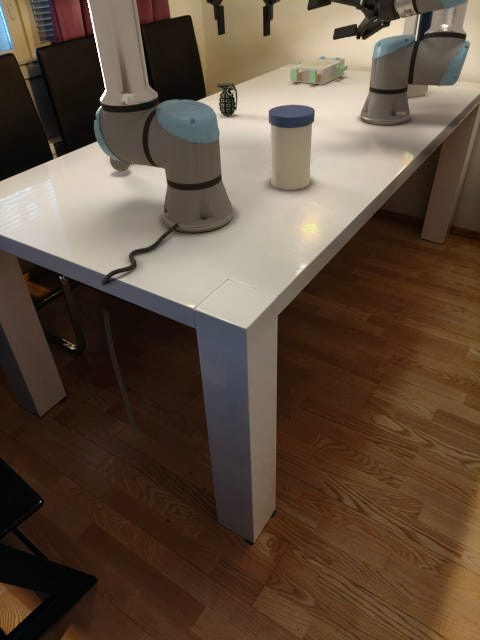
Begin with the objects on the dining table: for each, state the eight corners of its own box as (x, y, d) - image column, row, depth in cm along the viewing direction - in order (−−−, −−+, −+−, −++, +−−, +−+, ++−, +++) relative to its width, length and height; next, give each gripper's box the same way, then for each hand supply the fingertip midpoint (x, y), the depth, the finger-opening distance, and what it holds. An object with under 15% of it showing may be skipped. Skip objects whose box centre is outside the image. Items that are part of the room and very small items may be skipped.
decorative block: (312, 54, 215) (354, 57, 206) (311, 70, 219) (352, 74, 210) (281, 65, 199) (325, 69, 190) (281, 83, 203) (324, 87, 194)
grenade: (217, 117, 168) (214, 86, 162) (221, 112, 172) (219, 82, 166) (235, 117, 166) (233, 86, 160) (239, 113, 171) (238, 82, 165)
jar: (264, 186, 119) (263, 116, 109) (282, 172, 126) (282, 105, 116) (299, 192, 115) (301, 120, 105) (315, 178, 122) (319, 109, 112)
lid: (260, 124, 110) (260, 114, 109) (281, 112, 117) (281, 103, 116) (302, 129, 106) (302, 119, 104) (321, 117, 113) (322, 107, 111)
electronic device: (396, 99, 175) (410, -1, 157) (386, 94, 181) (398, -2, 163) (427, 95, 178) (444, -4, 159) (416, 90, 183) (431, -5, 165)
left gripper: (294, -71, 114) (292, 33, 127) (203, -65, 124) (210, 31, 137) (281, -70, 109) (280, 38, 122) (187, -64, 119) (196, 36, 132)
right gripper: (375, -18, 105) (293, 5, 118) (414, 44, 124) (341, 58, 137) (382, -53, 104) (299, -26, 118) (421, 15, 124) (346, 32, 137)
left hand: (243, 35), depth 129 cm, fingers open, 13 cm apart
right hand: (321, 20), depth 128 cm, fingers open, 13 cm apart
